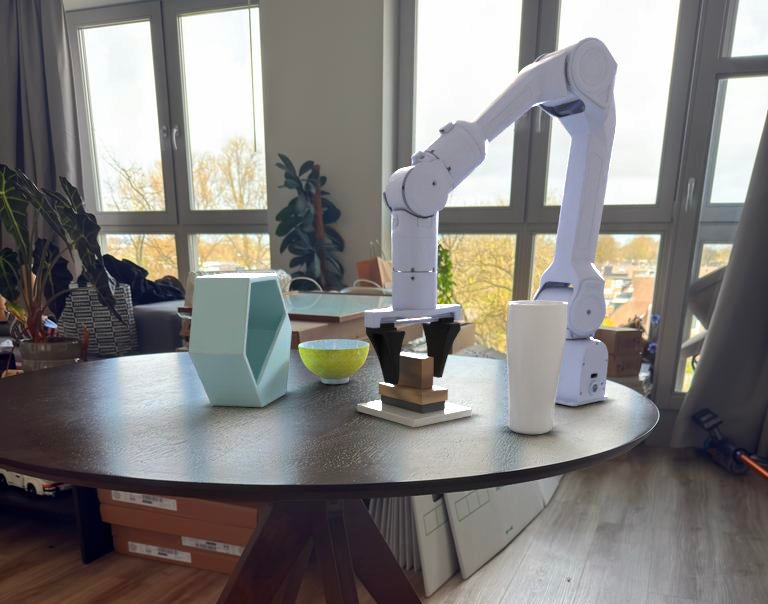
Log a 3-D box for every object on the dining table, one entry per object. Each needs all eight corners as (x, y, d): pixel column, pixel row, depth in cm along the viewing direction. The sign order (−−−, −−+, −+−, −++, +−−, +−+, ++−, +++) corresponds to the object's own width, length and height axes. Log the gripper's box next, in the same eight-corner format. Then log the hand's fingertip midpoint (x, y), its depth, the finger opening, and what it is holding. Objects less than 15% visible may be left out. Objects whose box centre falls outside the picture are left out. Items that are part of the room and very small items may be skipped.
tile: (471, 415, 95) (472, 408, 95) (413, 427, 89) (413, 419, 89) (413, 401, 104) (413, 394, 104) (357, 411, 98) (356, 404, 98)
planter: (272, 434, 105) (231, 320, 89) (222, 431, 107) (173, 319, 90) (299, 355, 115) (267, 239, 98) (253, 353, 116) (214, 239, 100)
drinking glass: (546, 440, 83) (556, 305, 78) (492, 432, 87) (498, 303, 81) (566, 427, 89) (576, 301, 83) (514, 421, 92) (521, 299, 87)
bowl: (339, 391, 111) (337, 350, 109) (285, 383, 118) (283, 344, 116) (383, 380, 120) (383, 342, 118) (331, 373, 126) (330, 337, 124)
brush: (447, 409, 94) (448, 357, 92) (421, 414, 92) (422, 361, 90) (404, 398, 101) (404, 349, 99) (378, 402, 99) (378, 353, 96)
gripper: (436, 268, 97) (434, 369, 102) (348, 272, 89) (351, 382, 94) (473, 270, 92) (469, 376, 97) (383, 274, 84) (384, 390, 89)
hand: (413, 380), depth 95 cm, fingers open, 7 cm apart
